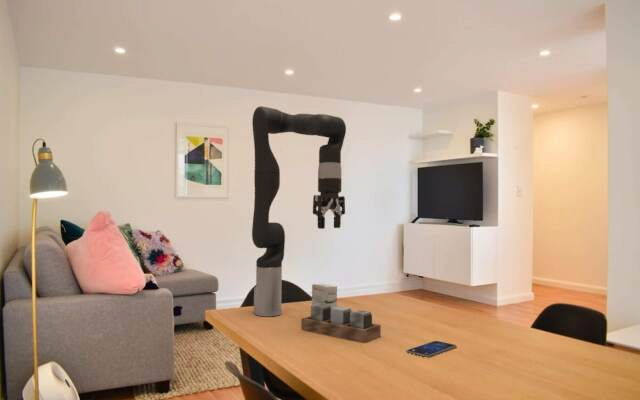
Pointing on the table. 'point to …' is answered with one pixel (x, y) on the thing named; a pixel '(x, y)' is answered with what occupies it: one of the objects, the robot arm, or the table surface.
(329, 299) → the ink box
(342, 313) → the grey cube
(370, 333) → the wooden compartment tray
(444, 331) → the table surface
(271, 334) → the table surface
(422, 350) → the smartphone
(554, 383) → the table surface
